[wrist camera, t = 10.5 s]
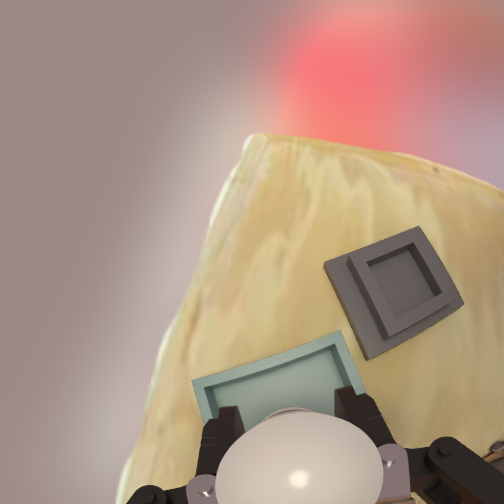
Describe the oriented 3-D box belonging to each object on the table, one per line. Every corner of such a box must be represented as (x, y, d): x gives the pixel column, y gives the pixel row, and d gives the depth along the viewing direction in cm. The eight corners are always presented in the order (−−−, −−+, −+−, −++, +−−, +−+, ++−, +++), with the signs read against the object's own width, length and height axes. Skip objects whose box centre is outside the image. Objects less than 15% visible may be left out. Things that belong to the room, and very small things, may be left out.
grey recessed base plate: (415, 230, 28) (423, 217, 25) (459, 307, 22) (472, 298, 20) (323, 266, 27) (326, 254, 25) (366, 360, 22) (374, 356, 20)
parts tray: (333, 339, 23) (340, 330, 20) (378, 456, 17) (392, 463, 14) (203, 383, 23) (191, 380, 20) (244, 502, 16) (237, 515, 13)
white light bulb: (314, 396, 15) (355, 387, 6) (336, 456, 12) (398, 511, 4) (246, 419, 14) (194, 438, 6) (267, 479, 12) (244, 560, 4)
